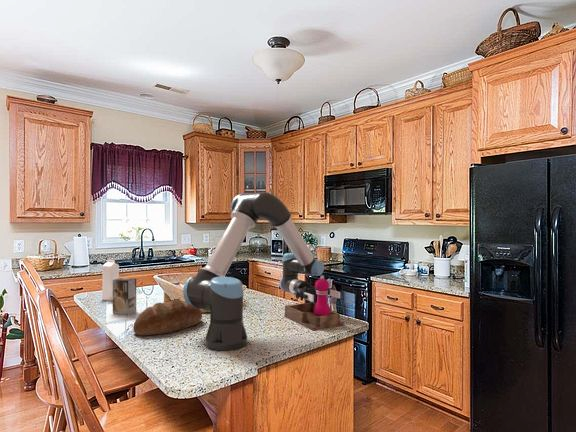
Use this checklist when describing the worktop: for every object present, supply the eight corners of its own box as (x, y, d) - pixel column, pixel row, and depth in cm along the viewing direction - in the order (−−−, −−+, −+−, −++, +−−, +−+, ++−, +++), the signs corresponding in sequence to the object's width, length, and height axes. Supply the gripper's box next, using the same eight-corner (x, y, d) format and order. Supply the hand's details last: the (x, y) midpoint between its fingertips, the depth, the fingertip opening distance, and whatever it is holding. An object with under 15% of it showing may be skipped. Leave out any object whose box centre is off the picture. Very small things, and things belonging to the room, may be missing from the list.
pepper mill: (329, 325, 153) (329, 277, 153) (312, 323, 155) (312, 276, 155) (331, 320, 160) (331, 274, 160) (314, 319, 162) (314, 273, 162)
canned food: (180, 306, 190) (180, 282, 190) (164, 307, 187) (164, 283, 187) (178, 302, 197) (178, 280, 197) (163, 303, 194) (163, 281, 194)
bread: (209, 324, 159) (210, 297, 159) (145, 341, 136) (145, 310, 136) (188, 317, 169) (189, 292, 169) (126, 332, 147) (126, 303, 147)
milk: (111, 297, 209) (111, 258, 209) (118, 298, 206) (119, 259, 207) (101, 299, 203) (102, 259, 204) (109, 300, 201) (110, 260, 201)
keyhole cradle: (312, 330, 149) (312, 318, 149) (284, 316, 170) (284, 305, 170) (344, 325, 157) (344, 313, 157) (313, 312, 178) (313, 302, 178)
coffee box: (137, 311, 178) (137, 278, 178) (128, 314, 172) (128, 280, 172) (120, 310, 180) (121, 277, 181) (111, 313, 174) (111, 279, 174)
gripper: (322, 293, 179) (349, 302, 161) (276, 299, 167) (301, 309, 149) (322, 278, 179) (349, 285, 161) (277, 282, 167) (301, 290, 149)
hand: (326, 296), depth 155 cm, fingers open, 13 cm apart
